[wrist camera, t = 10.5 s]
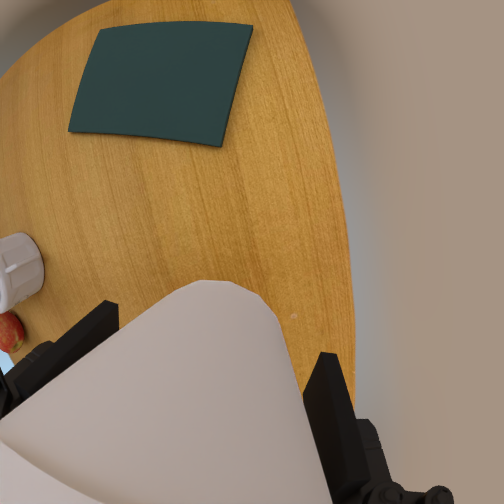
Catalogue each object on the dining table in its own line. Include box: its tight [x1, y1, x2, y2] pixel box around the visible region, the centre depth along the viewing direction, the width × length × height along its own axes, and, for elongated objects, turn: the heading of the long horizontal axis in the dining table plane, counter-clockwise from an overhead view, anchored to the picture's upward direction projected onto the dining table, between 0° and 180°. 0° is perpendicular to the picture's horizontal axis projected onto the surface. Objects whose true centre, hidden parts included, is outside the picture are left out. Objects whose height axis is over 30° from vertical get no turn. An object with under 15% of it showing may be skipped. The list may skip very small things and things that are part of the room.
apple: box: [0, 311, 24, 354], centre depth 35 cm, size 8×8×8 cm
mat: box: [68, 21, 253, 147], centre depth 26 cm, size 22×16×1 cm
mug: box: [0, 233, 44, 314], centre depth 30 cm, size 14×11×10 cm
